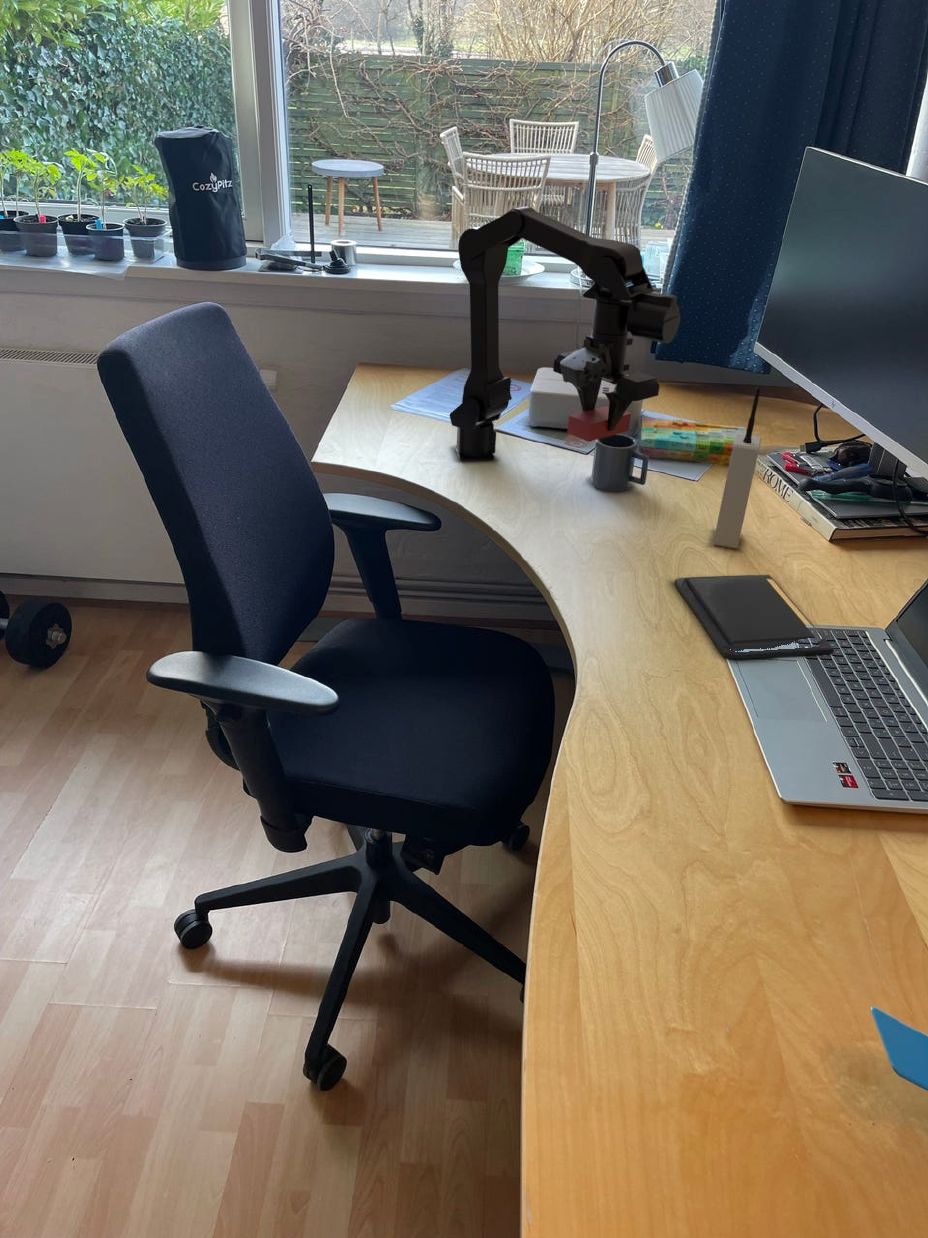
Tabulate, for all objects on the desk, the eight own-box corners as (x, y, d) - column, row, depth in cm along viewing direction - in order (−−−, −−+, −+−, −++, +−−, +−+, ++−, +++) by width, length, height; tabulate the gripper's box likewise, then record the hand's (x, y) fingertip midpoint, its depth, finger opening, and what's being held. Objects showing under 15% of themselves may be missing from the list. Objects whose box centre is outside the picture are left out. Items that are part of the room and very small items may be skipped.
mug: (583, 484, 162) (588, 441, 158) (603, 472, 167) (608, 430, 162) (634, 500, 157) (640, 456, 153) (652, 486, 162) (659, 444, 158)
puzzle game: (642, 413, 180) (747, 423, 178) (639, 436, 183) (742, 446, 180) (642, 434, 170) (752, 445, 168) (638, 458, 173) (747, 469, 170)
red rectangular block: (588, 442, 149) (590, 424, 147) (567, 432, 152) (568, 415, 151) (628, 430, 154) (631, 413, 153) (607, 421, 157) (609, 404, 156)
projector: (637, 438, 181) (642, 400, 177) (526, 428, 184) (529, 389, 180) (638, 410, 195) (644, 374, 191) (536, 401, 198) (538, 365, 194)
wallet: (674, 570, 133) (775, 567, 134) (672, 581, 134) (772, 578, 135) (723, 648, 116) (837, 643, 118) (720, 660, 117) (834, 656, 119)
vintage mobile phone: (739, 536, 147) (773, 382, 133) (737, 549, 143) (771, 392, 129) (716, 532, 148) (747, 378, 134) (712, 545, 144) (744, 389, 130)
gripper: (532, 323, 146) (525, 418, 155) (617, 353, 134) (605, 453, 142) (582, 314, 152) (573, 406, 161) (668, 341, 140) (653, 439, 148)
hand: (598, 425), depth 153 cm, fingers closed on red rectangular block, 5 cm apart
